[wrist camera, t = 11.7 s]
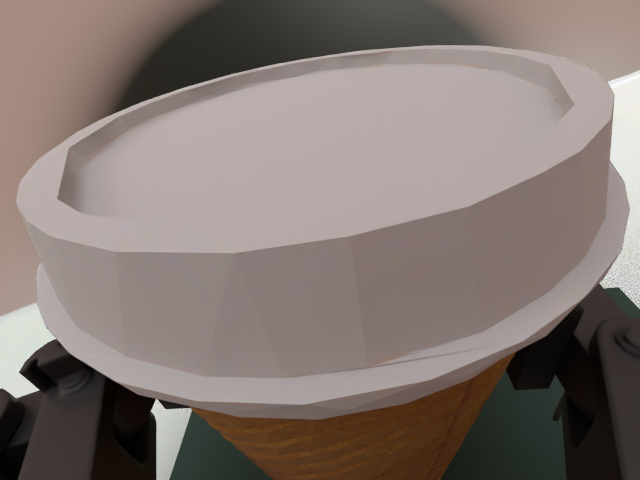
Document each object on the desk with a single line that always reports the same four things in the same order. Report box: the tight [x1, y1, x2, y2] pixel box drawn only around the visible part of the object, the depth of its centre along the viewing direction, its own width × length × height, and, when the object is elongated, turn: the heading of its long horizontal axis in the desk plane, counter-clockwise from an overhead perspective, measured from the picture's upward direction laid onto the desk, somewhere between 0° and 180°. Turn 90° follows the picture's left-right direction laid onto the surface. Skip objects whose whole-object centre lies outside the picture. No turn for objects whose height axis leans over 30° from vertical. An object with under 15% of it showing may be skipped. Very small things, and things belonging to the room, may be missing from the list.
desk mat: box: [170, 288, 640, 480], centre depth 13 cm, size 20×12×1 cm, turn 88°
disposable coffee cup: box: [16, 45, 630, 480], centre depth 9 cm, size 10×10×12 cm
